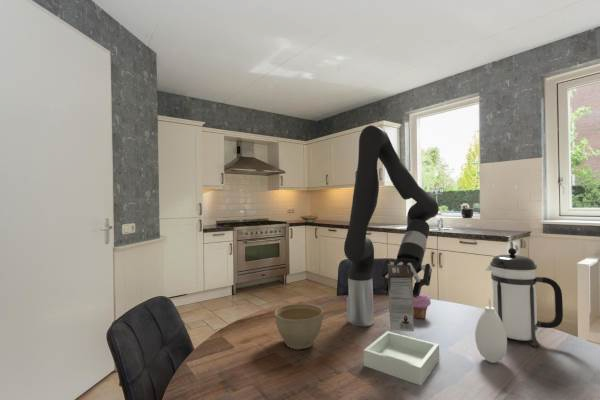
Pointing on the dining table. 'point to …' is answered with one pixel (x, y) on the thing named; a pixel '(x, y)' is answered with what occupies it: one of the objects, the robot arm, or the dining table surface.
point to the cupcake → (420, 306)
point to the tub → (402, 357)
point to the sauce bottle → (491, 335)
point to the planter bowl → (299, 324)
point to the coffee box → (400, 297)
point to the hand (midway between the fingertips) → (399, 293)
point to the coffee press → (520, 296)
